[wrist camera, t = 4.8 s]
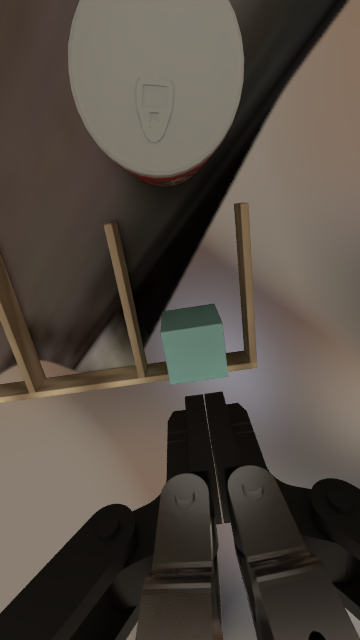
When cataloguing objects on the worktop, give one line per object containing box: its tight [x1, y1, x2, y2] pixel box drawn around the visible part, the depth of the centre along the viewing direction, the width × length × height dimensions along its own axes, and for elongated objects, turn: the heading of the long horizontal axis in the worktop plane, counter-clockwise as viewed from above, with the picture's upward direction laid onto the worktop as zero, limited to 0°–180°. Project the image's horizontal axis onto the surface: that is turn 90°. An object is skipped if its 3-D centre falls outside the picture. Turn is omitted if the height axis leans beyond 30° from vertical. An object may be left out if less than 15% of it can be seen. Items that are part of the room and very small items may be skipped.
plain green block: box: [161, 304, 228, 385], centre depth 27 cm, size 5×5×5 cm
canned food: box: [68, 0, 244, 187], centre depth 18 cm, size 8×8×11 cm
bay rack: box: [0, 203, 257, 403], centre depth 27 cm, size 32×15×2 cm, turn 98°
